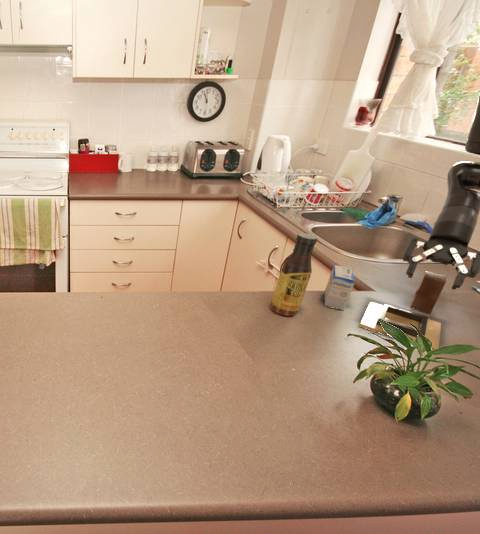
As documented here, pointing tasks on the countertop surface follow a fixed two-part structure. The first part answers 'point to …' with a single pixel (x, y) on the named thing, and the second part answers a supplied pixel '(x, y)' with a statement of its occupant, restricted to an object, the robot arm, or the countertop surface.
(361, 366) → the countertop surface
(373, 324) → the back plate
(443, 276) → the pad block
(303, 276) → the sauce bottle
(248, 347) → the countertop surface
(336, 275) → the medicine box
